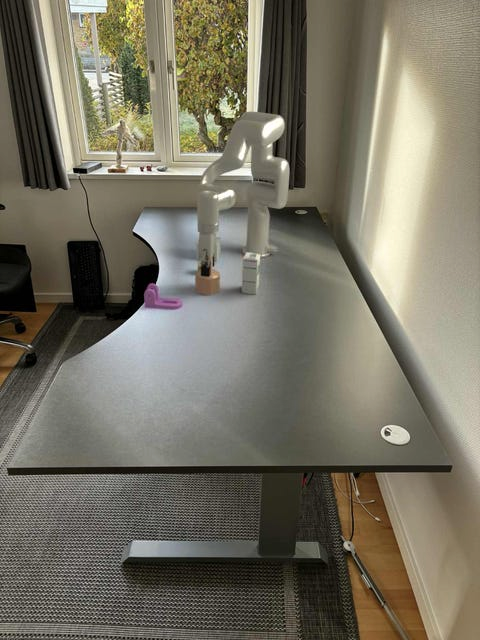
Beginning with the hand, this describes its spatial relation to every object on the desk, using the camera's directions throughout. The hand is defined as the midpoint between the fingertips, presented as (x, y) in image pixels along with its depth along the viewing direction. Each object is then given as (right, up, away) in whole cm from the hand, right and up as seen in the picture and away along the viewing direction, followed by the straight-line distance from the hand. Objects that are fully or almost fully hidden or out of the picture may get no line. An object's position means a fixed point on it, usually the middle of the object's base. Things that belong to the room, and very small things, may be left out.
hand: (207, 270), depth 182 cm
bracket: (-15, -13, -7) cm, 21 cm away
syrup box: (+16, -7, +5) cm, 18 cm away
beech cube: (-3, +1, +17) cm, 17 cm away
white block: (-2, +9, +30) cm, 32 cm away
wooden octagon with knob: (0, -7, +4) cm, 8 cm away
